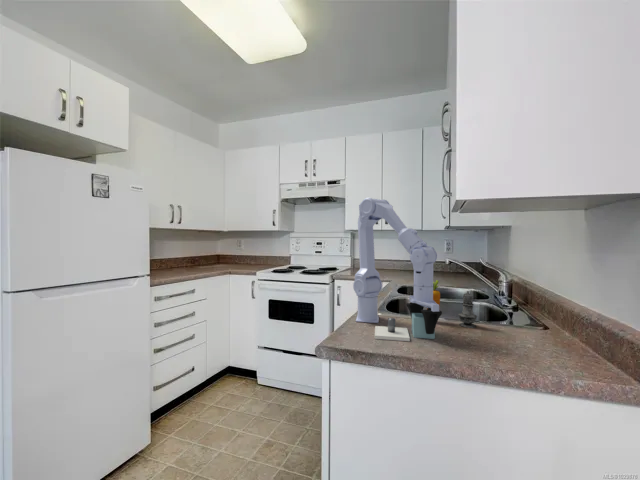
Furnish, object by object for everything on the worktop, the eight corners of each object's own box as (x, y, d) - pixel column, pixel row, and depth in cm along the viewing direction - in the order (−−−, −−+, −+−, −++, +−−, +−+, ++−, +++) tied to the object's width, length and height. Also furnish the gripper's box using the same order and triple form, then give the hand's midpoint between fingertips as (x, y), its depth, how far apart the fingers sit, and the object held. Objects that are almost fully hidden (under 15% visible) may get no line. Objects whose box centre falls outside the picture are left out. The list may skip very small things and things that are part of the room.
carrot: (422, 321, 108) (423, 279, 108) (429, 319, 112) (430, 278, 112) (436, 324, 105) (436, 281, 105) (442, 322, 108) (443, 280, 108)
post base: (375, 328, 99) (375, 313, 99) (406, 331, 97) (407, 315, 97) (374, 338, 90) (374, 321, 90) (409, 341, 88) (409, 324, 88)
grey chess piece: (478, 328, 100) (478, 292, 100) (459, 327, 102) (459, 291, 102) (475, 324, 106) (476, 289, 106) (457, 322, 108) (457, 288, 108)
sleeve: (411, 331, 97) (411, 312, 97) (431, 332, 96) (431, 313, 96) (413, 337, 91) (413, 317, 91) (434, 338, 90) (434, 318, 90)
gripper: (400, 282, 100) (400, 323, 100) (423, 289, 86) (422, 337, 86) (420, 282, 101) (420, 322, 101) (446, 289, 87) (445, 336, 87)
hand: (422, 329), depth 94 cm, fingers closed on sleeve, 7 cm apart
